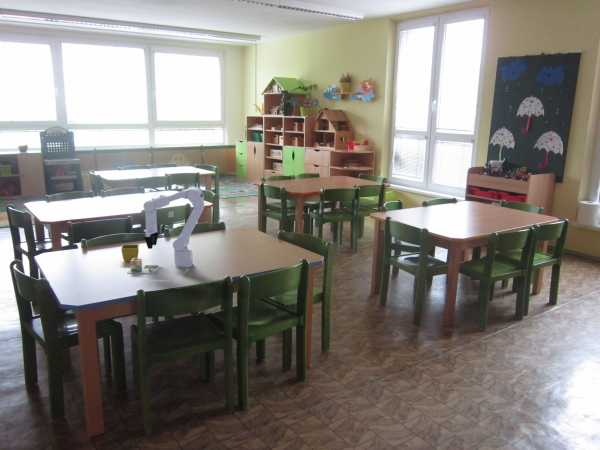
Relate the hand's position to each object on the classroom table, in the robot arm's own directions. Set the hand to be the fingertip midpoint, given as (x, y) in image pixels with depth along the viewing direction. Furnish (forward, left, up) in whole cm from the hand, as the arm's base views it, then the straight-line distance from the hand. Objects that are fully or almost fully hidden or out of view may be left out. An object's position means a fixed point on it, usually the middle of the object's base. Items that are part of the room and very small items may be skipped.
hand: (152, 246), depth 264 cm
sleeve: (+4, +15, -9) cm, 18 cm away
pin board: (0, +15, -10) cm, 18 cm away
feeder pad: (-1, +7, -10) cm, 12 cm away
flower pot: (+13, -3, -10) cm, 17 cm away
